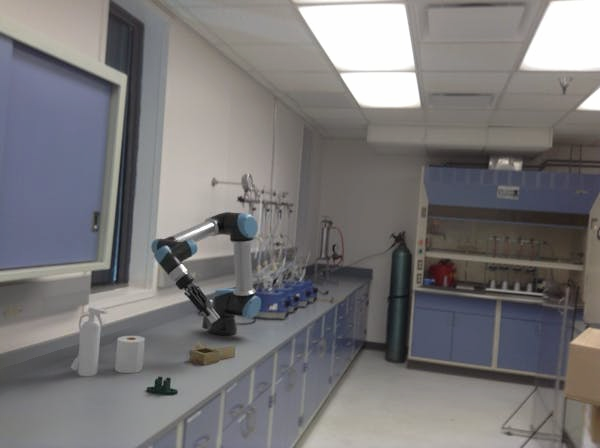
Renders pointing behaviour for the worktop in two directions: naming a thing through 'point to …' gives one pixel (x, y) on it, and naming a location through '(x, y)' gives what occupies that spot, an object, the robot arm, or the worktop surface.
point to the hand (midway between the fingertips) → (215, 320)
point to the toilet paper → (129, 354)
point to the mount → (162, 387)
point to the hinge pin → (206, 321)
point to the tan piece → (210, 354)
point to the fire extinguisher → (89, 342)
